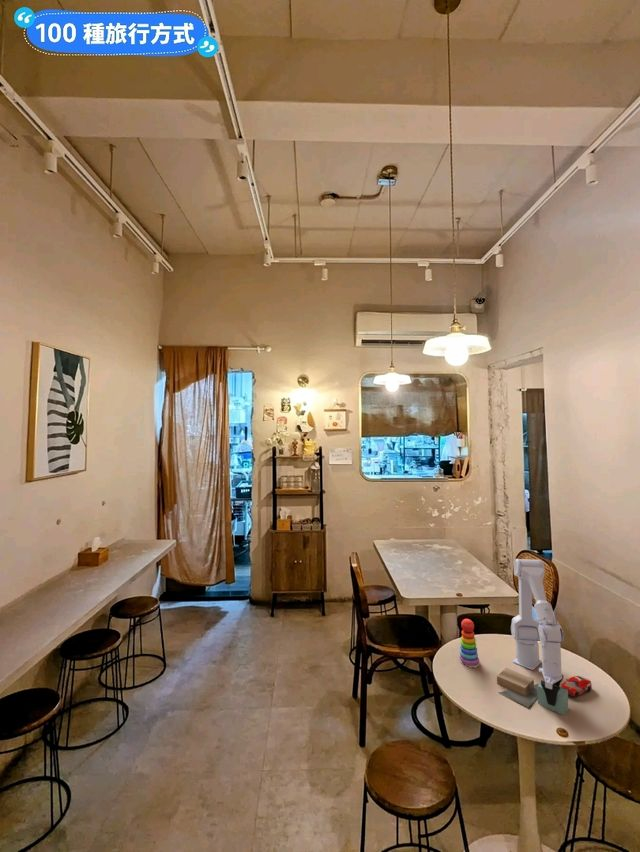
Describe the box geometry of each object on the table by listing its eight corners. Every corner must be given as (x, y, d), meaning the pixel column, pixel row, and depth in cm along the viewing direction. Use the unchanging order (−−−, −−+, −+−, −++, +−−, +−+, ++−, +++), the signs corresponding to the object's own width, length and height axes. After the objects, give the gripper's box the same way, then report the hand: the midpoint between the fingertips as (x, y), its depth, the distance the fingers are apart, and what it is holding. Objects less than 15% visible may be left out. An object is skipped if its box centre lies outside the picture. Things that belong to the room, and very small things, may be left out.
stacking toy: (462, 658, 167) (461, 613, 168) (482, 664, 162) (480, 618, 163) (456, 667, 160) (455, 620, 161) (477, 673, 156) (475, 625, 157)
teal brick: (543, 697, 141) (542, 680, 141) (568, 708, 135) (567, 690, 135) (537, 703, 138) (537, 685, 138) (563, 715, 132) (563, 696, 132)
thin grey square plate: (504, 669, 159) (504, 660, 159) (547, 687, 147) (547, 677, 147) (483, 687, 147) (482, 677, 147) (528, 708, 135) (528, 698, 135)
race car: (572, 699, 139) (572, 687, 139) (557, 690, 144) (557, 679, 144) (595, 690, 145) (595, 679, 145) (579, 682, 149) (579, 671, 150)
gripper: (542, 647, 145) (543, 685, 145) (534, 664, 134) (535, 706, 133) (564, 653, 141) (566, 693, 140) (558, 672, 130) (560, 715, 129)
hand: (552, 700), depth 137 cm, fingers closed on teal brick, 5 cm apart
